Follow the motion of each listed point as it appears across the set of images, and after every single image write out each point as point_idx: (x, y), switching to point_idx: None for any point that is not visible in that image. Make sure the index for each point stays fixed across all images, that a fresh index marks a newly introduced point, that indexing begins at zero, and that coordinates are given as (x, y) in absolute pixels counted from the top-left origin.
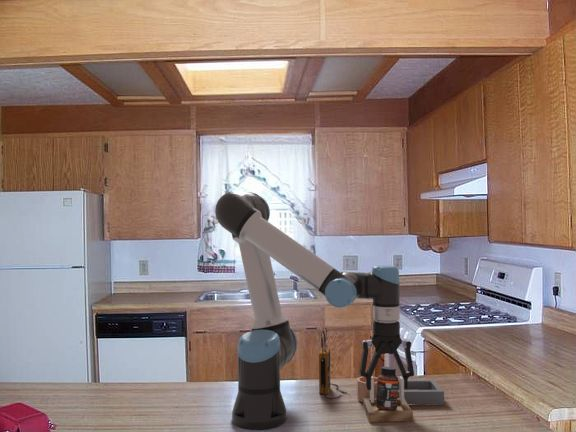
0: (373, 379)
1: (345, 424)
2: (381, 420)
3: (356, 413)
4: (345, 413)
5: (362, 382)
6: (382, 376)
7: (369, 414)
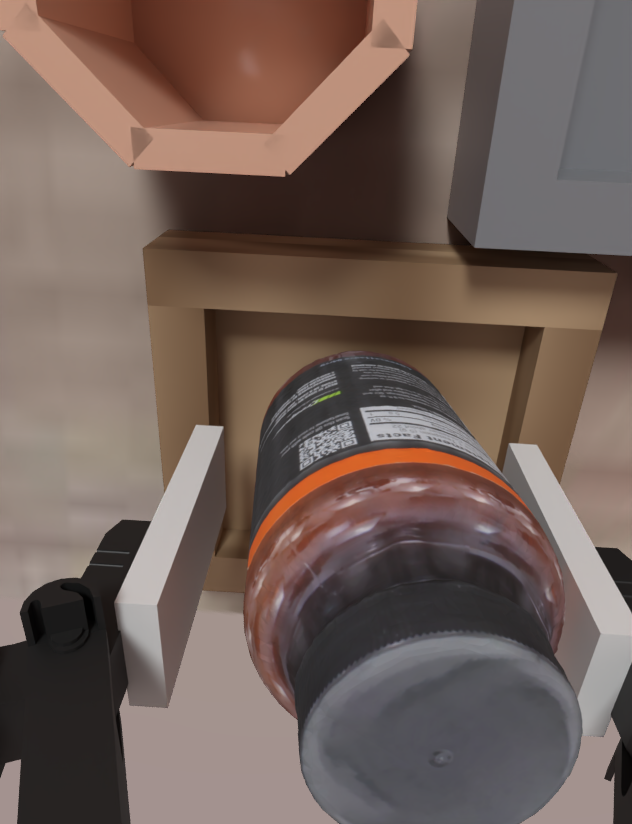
0: (162, 706)
1: (28, 562)
2: None
3: (102, 392)
4: (9, 386)
5: (82, 116)
6: (297, 718)
7: None
